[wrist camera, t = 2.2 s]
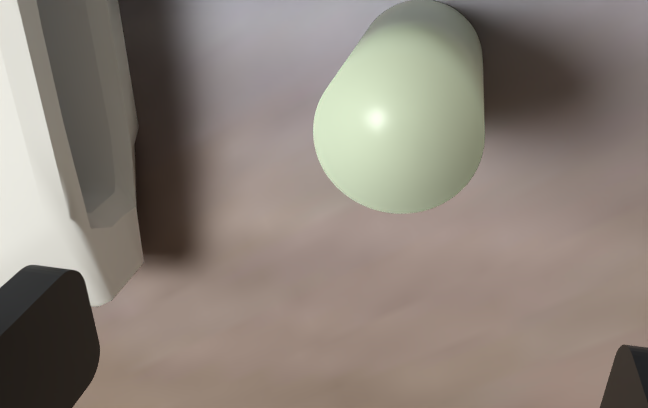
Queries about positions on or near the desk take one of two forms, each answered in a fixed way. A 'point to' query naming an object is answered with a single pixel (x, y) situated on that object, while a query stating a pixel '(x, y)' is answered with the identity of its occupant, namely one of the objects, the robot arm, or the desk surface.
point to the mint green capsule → (405, 111)
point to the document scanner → (67, 143)
